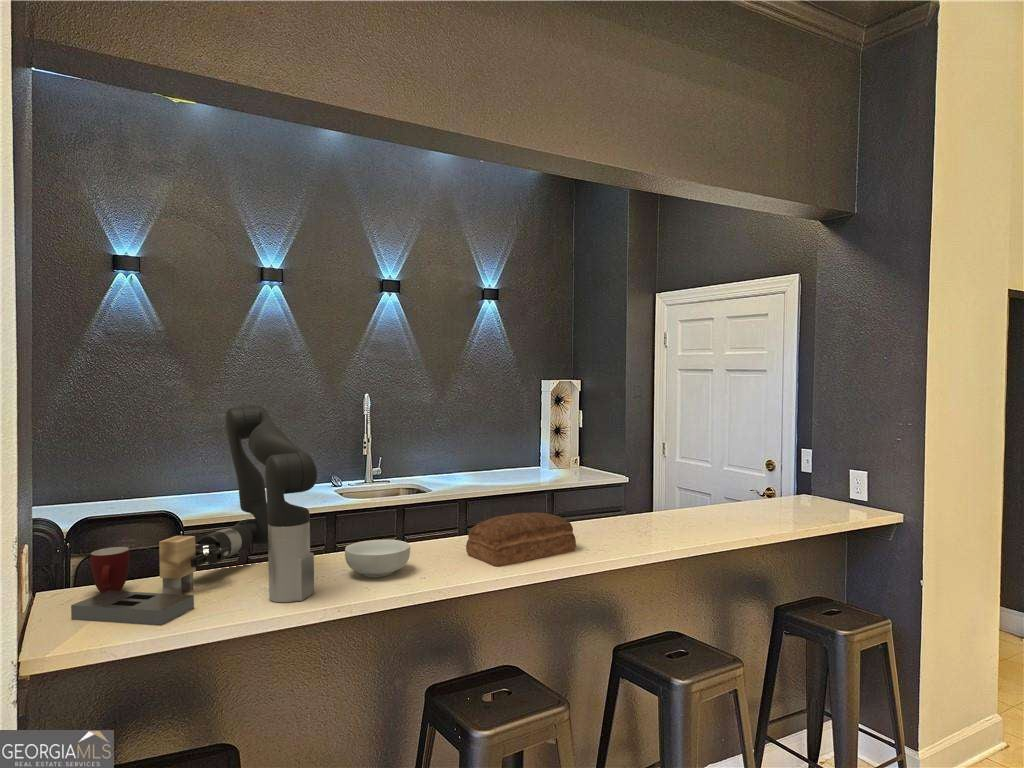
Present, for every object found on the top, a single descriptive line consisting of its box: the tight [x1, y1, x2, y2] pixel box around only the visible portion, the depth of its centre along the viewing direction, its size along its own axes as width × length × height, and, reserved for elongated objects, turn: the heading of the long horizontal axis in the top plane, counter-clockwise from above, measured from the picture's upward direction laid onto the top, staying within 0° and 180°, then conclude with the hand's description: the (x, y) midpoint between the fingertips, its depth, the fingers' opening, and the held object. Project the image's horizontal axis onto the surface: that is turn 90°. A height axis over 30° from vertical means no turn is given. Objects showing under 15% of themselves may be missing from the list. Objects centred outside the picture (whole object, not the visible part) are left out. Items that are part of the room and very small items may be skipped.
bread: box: [465, 512, 577, 568], centre depth 189 cm, size 17×29×11 cm, turn 125°
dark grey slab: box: [70, 590, 195, 626], centre depth 143 cm, size 22×10×3 cm, turn 79°
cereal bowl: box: [344, 539, 411, 578], centre depth 172 cm, size 17×17×7 cm
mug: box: [90, 546, 131, 594], centre depth 157 cm, size 10×8×10 cm
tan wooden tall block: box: [158, 535, 197, 595], centre depth 157 cm, size 5×6×13 cm
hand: (176, 562), depth 156 cm, fingers open, 8 cm apart
